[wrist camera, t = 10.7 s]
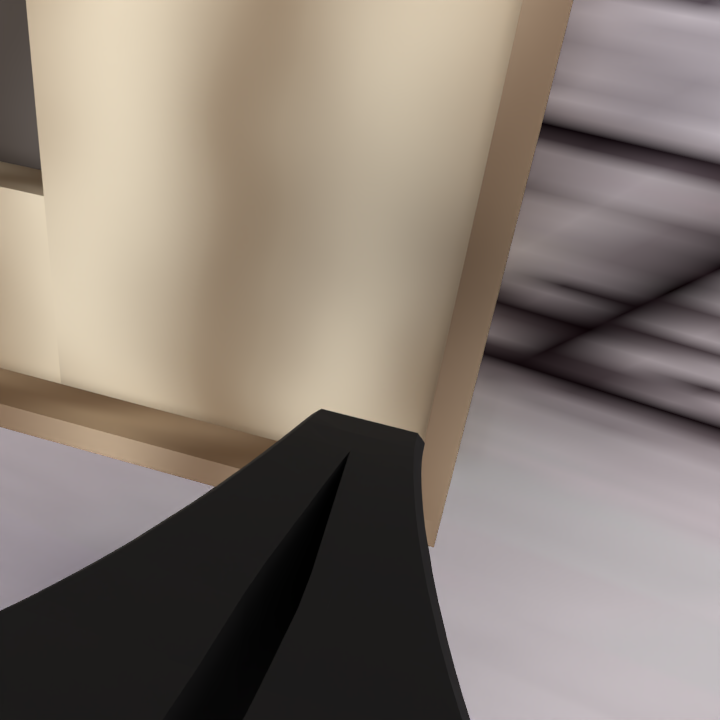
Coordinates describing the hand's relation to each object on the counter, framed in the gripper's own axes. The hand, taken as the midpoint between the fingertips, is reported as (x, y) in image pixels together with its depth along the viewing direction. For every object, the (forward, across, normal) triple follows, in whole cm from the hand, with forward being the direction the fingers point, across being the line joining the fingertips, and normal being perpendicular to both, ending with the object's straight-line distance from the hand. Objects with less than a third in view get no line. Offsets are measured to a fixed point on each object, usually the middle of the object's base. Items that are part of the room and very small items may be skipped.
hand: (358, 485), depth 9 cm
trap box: (+10, +10, 0) cm, 14 cm away
